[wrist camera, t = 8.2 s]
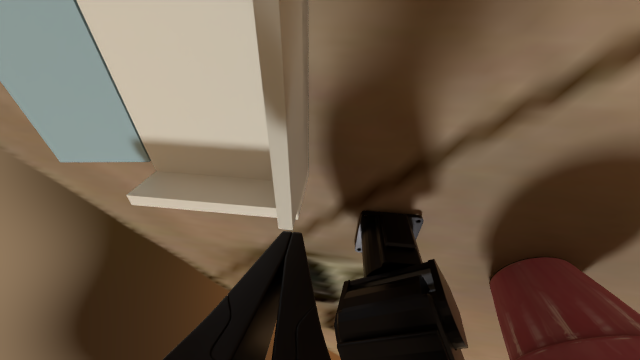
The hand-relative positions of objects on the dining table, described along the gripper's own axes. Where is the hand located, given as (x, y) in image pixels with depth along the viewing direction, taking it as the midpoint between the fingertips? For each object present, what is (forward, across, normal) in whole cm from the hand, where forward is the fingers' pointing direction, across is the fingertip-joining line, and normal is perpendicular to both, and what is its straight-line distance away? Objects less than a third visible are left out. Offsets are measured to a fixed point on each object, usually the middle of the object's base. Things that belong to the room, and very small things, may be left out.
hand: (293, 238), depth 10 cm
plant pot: (+12, -27, +18) cm, 35 cm away
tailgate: (+10, +15, -5) cm, 18 cm away
